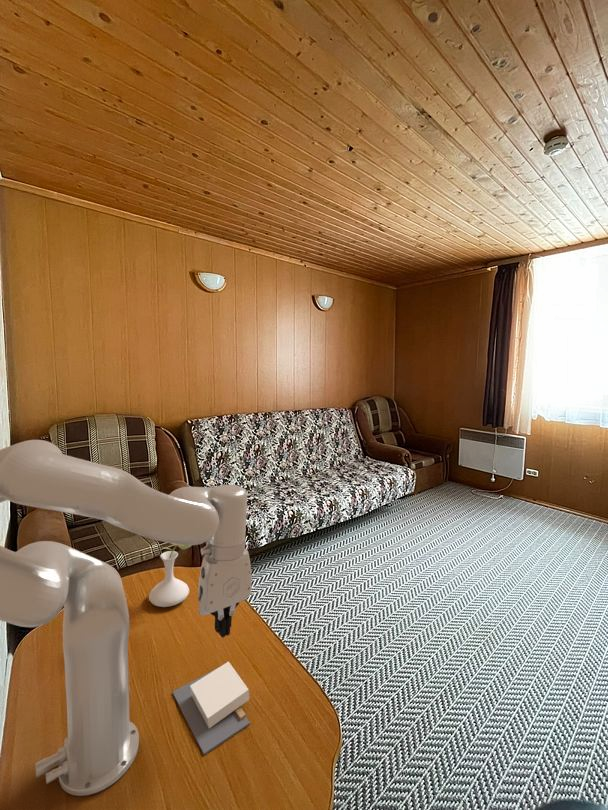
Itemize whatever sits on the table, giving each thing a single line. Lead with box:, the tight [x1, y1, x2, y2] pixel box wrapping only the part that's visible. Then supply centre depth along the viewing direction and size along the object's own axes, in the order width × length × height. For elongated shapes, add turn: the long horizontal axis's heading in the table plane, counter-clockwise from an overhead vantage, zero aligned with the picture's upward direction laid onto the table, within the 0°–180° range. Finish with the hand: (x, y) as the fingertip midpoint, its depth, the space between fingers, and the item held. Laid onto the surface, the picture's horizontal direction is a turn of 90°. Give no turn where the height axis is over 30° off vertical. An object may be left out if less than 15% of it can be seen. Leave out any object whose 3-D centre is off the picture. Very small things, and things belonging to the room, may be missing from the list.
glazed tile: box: [190, 661, 251, 728], centre depth 77 cm, size 3×9×9 cm
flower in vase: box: [148, 543, 193, 608], centre depth 110 cm, size 13×11×25 cm
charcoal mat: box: [172, 669, 251, 756], centre depth 76 cm, size 10×16×1 cm, turn 39°
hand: (222, 632), depth 76 cm, fingers closed
